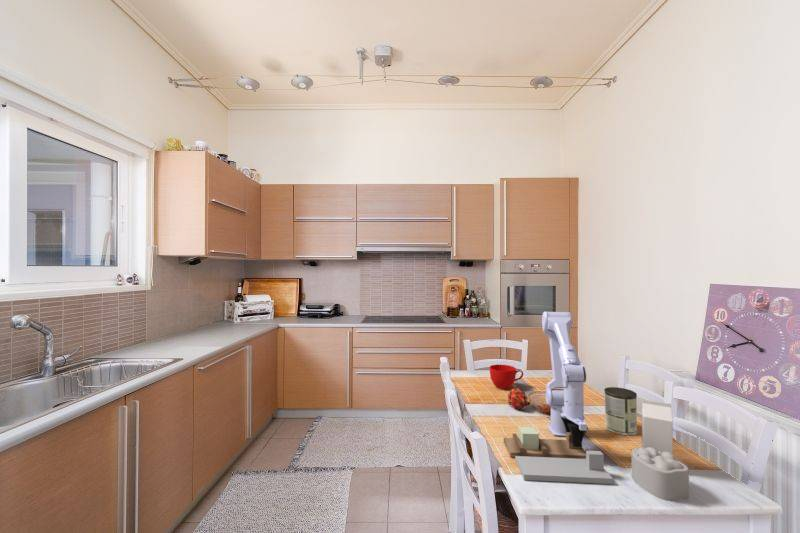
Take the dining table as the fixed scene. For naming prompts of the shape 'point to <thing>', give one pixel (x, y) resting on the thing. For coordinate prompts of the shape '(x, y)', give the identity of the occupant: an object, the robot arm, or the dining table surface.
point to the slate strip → (565, 469)
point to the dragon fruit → (517, 399)
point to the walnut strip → (546, 448)
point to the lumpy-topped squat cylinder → (660, 474)
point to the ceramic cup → (503, 375)
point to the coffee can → (620, 410)
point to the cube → (529, 438)
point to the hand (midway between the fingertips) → (574, 443)
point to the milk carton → (657, 426)
